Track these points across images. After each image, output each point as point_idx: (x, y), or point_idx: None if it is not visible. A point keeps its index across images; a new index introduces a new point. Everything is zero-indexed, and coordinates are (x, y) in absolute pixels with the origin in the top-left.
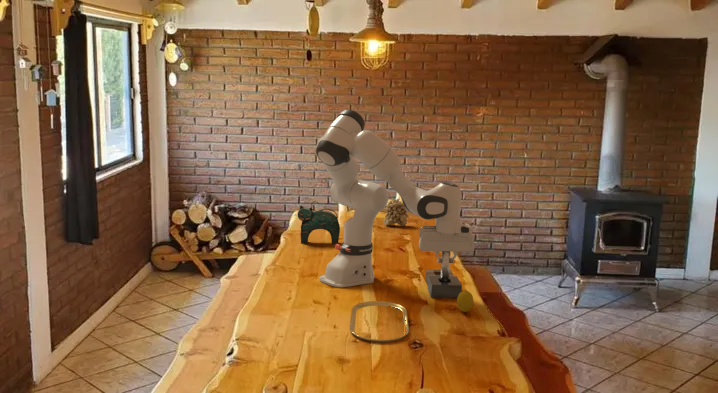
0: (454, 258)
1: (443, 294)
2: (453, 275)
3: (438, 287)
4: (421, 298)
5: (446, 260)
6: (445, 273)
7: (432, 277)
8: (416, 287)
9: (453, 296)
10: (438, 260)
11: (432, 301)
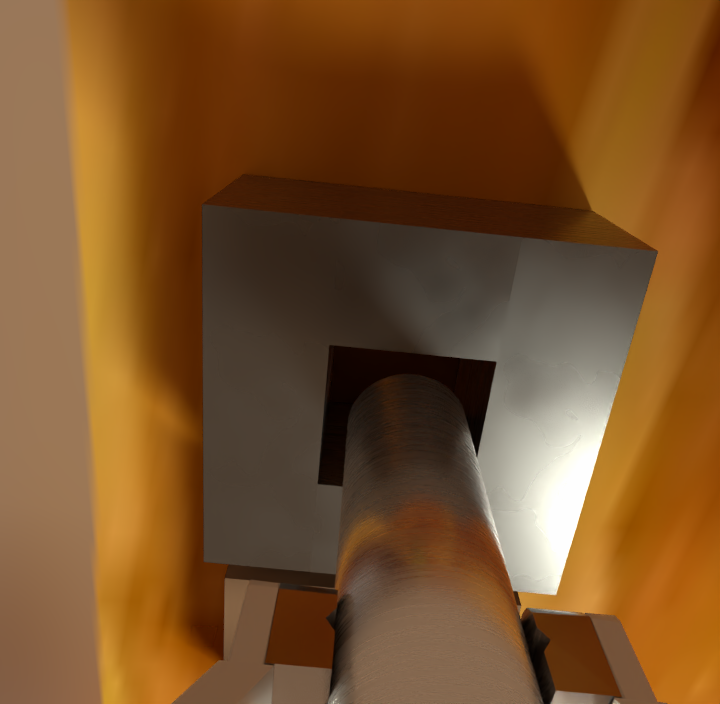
0: (221, 665)
1: (457, 203)
2: (227, 636)
3: (546, 232)
4: (714, 197)
5: (443, 613)
6: (424, 434)
7: (526, 535)
8: (621, 521)
9: (332, 188)
10: (619, 652)
11: (625, 79)
